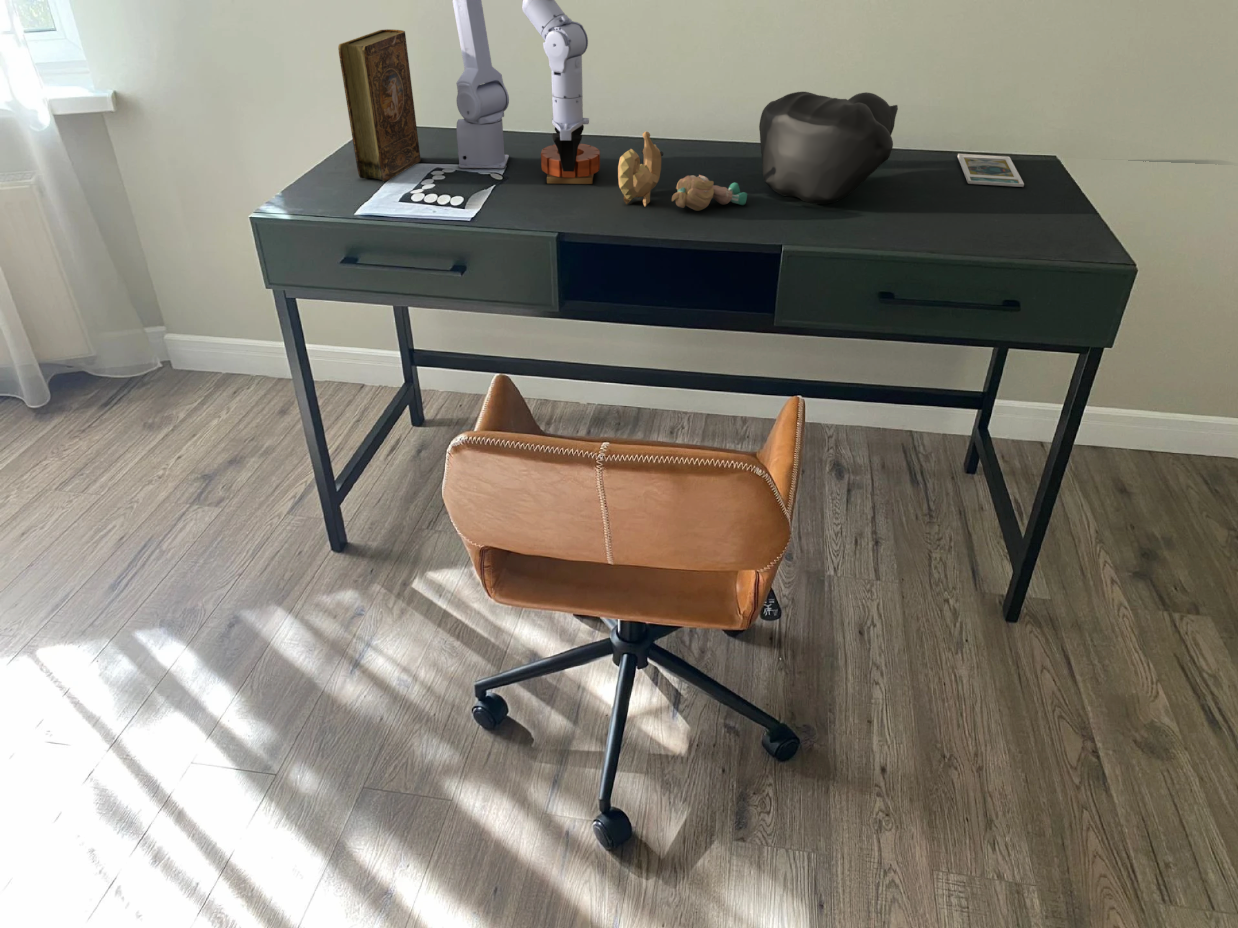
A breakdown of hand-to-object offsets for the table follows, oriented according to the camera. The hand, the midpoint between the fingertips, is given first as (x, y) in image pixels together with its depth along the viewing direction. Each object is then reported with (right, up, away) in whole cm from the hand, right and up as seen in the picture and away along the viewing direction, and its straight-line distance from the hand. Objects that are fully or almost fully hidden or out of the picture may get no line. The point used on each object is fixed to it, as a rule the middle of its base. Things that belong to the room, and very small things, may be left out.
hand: (569, 167), depth 178 cm
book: (-37, +2, +8) cm, 38 cm away
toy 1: (+14, -9, -6) cm, 17 cm away
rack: (0, 0, +5) cm, 5 cm away
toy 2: (+27, -11, -9) cm, 30 cm away
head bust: (+52, -3, +1) cm, 52 cm away
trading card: (+86, +2, +9) cm, 87 cm away
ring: (0, +1, +4) cm, 4 cm away
